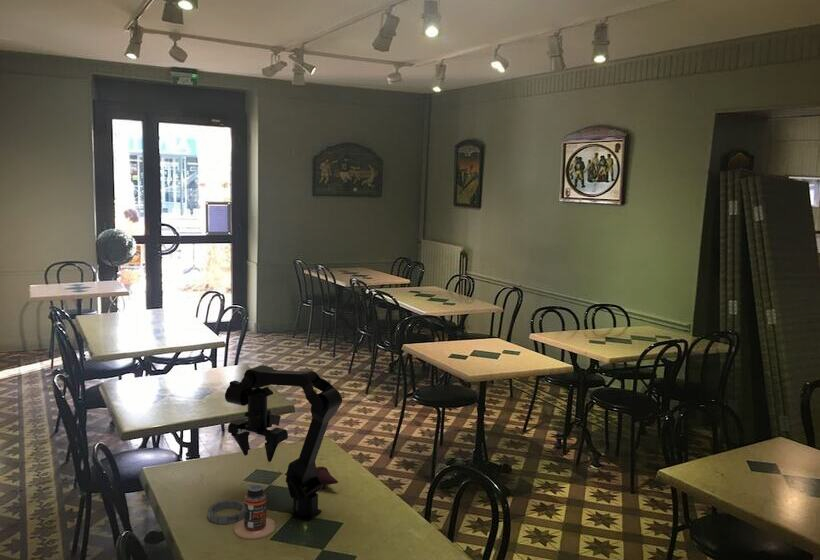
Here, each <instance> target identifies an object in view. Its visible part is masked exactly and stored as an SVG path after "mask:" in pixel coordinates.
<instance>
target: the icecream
mask: <svg viewBox="0 0 820 560" xmlns="http://www.w3.org/2000/svg"><path fill="white" fill-rule="evenodd" d="M316 468H317V470H316V475H317V477H318V478H319V479H320V481H321V482H322V484H323V486H322V489H323V488H324V487H326V486H329V485H335V484H338V483H339V481H338V480H337V479H336V478H335V477H334V476H333V475H331V472H329V470H328V468H327V467H325V466H316Z"/></svg>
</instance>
